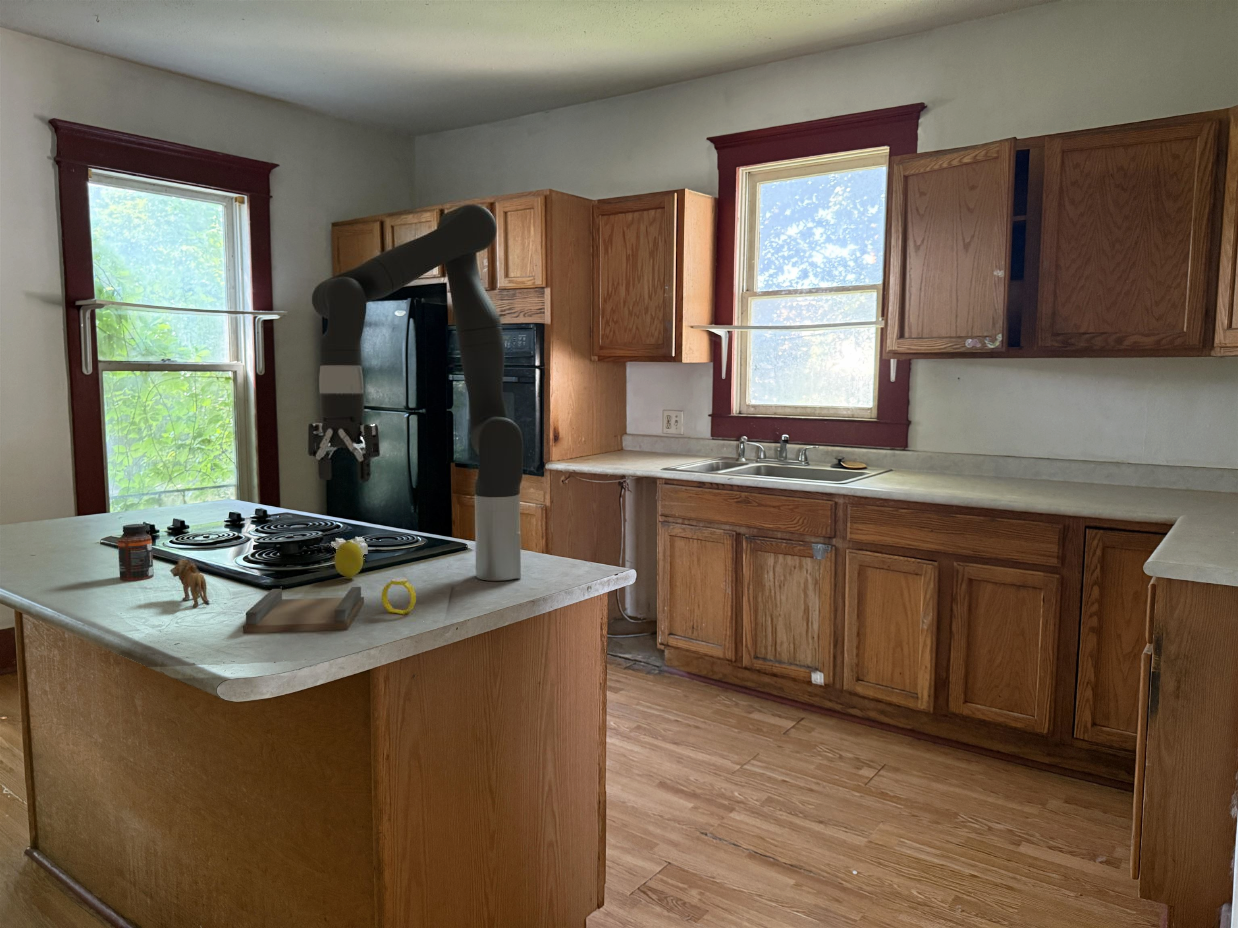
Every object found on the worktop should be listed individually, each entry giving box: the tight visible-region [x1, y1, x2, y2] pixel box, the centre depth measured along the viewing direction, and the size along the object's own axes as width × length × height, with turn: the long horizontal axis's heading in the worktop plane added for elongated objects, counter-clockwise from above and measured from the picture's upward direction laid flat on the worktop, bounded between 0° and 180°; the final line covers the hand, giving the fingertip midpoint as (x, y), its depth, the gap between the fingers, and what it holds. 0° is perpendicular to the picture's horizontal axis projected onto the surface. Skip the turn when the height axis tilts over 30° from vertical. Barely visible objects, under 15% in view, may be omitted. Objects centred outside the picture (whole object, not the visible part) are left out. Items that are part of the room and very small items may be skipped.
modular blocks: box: [330, 536, 369, 555], centre depth 192 cm, size 20×7×4 cm, turn 29°
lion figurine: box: [169, 558, 211, 608], centre depth 153 cm, size 12×4×7 cm, turn 50°
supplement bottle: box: [117, 523, 154, 582], centre depth 169 cm, size 6×6×11 cm
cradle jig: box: [242, 586, 365, 634], centre depth 143 cm, size 16×17×3 cm
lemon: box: [334, 539, 364, 580], centre depth 172 cm, size 6×6×8 cm
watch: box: [381, 577, 417, 615], centre depth 146 cm, size 6×3×6 cm, turn 74°
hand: (344, 480), depth 153 cm, fingers open, 8 cm apart
